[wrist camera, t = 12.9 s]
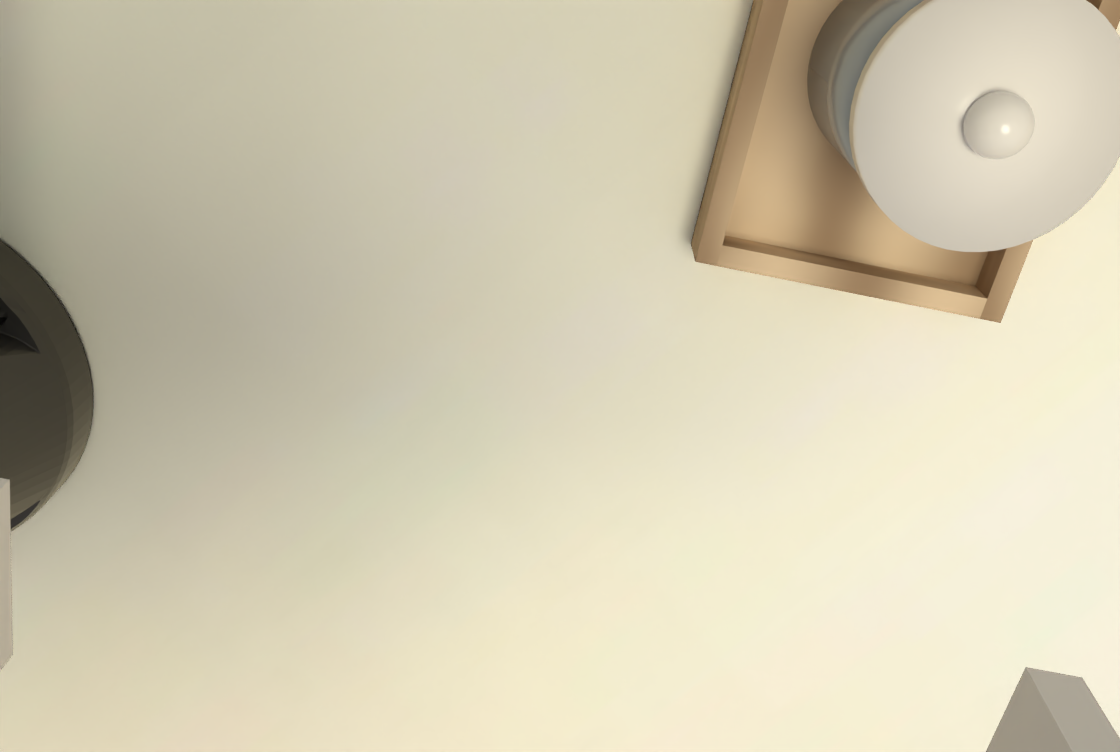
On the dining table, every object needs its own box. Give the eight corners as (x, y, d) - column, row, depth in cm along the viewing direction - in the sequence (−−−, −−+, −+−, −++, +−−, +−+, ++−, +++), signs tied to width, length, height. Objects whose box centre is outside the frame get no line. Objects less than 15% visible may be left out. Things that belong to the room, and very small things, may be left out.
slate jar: (776, 155, 39) (832, 237, 30) (837, -61, 36) (921, -46, 27) (972, 195, 39) (1089, 289, 30) (1049, -15, 36) (1205, 16, 27)
